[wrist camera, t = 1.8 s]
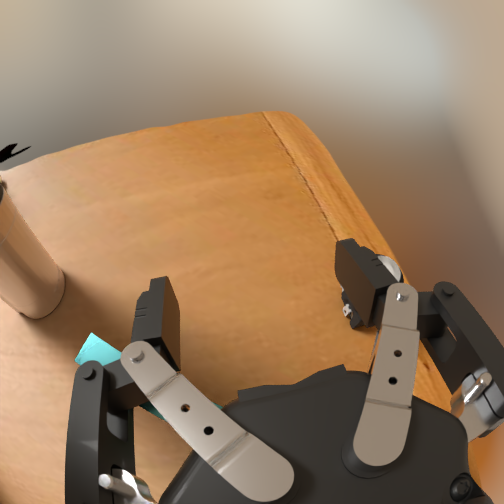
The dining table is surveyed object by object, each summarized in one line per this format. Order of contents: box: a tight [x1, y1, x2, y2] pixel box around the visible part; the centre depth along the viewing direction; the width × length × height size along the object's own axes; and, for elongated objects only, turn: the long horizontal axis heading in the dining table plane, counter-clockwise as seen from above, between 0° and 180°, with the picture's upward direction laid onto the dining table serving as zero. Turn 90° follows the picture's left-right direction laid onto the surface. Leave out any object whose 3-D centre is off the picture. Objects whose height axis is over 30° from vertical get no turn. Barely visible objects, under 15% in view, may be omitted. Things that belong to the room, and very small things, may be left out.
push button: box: [341, 254, 404, 329], centre depth 32 cm, size 7×5×10 cm
